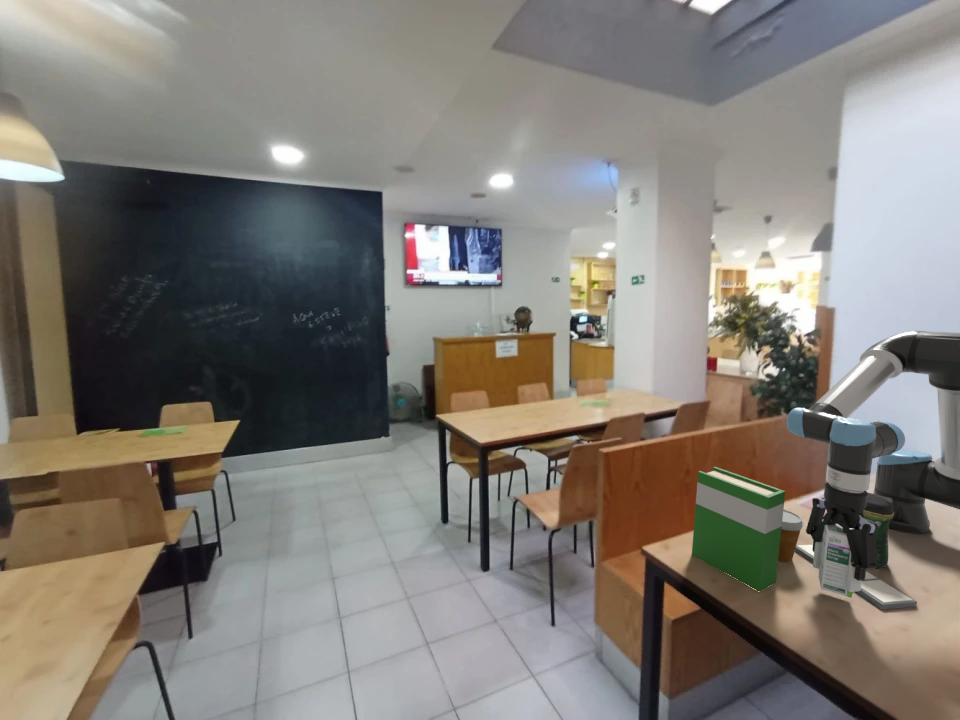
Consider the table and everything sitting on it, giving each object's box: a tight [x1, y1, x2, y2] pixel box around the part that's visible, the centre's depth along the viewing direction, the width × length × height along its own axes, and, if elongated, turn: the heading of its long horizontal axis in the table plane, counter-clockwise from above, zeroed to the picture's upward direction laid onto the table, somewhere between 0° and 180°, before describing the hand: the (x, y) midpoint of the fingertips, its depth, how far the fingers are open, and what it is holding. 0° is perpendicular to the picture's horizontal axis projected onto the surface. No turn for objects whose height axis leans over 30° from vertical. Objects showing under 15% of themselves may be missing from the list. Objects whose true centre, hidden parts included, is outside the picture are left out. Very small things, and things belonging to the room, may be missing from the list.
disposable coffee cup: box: [778, 509, 805, 563], centre depth 117 cm, size 10×10×12 cm
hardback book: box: [691, 466, 786, 592], centre depth 111 cm, size 18×7×24 cm, turn 29°
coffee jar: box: [853, 492, 894, 569], centre depth 116 cm, size 10×8×19 cm
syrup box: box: [818, 524, 854, 598], centre depth 100 cm, size 6×6×14 cm
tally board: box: [794, 543, 918, 610], centre depth 110 cm, size 9×24×1 cm, turn 7°
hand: (835, 578), depth 101 cm, fingers closed on syrup box, 8 cm apart
